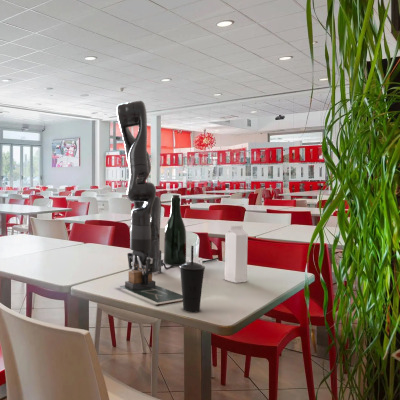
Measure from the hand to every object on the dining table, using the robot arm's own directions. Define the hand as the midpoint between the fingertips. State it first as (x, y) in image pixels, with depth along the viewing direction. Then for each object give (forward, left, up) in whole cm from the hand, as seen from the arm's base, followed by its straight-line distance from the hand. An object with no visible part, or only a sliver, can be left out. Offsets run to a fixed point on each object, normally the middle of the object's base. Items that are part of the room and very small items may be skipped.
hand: (140, 283), depth 154 cm
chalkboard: (0, +7, -2) cm, 7 cm away
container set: (-35, -11, -3) cm, 37 cm away
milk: (-42, +6, -3) cm, 43 cm away
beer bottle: (-43, -32, -3) cm, 54 cm away
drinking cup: (0, +27, -3) cm, 27 cm away
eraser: (0, 0, -1) cm, 1 cm away
